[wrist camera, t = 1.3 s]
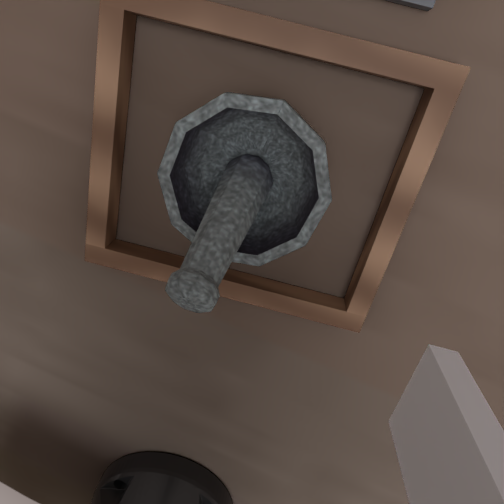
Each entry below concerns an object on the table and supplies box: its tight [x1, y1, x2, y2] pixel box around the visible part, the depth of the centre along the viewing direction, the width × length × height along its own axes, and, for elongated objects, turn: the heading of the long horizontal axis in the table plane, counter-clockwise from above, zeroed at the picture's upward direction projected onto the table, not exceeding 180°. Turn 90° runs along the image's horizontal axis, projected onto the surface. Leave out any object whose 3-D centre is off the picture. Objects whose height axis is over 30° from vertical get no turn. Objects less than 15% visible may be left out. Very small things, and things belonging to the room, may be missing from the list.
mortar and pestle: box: [157, 92, 332, 313], centre depth 23 cm, size 11×9×12 cm
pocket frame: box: [85, 0, 471, 333], centre depth 27 cm, size 19×22×2 cm
